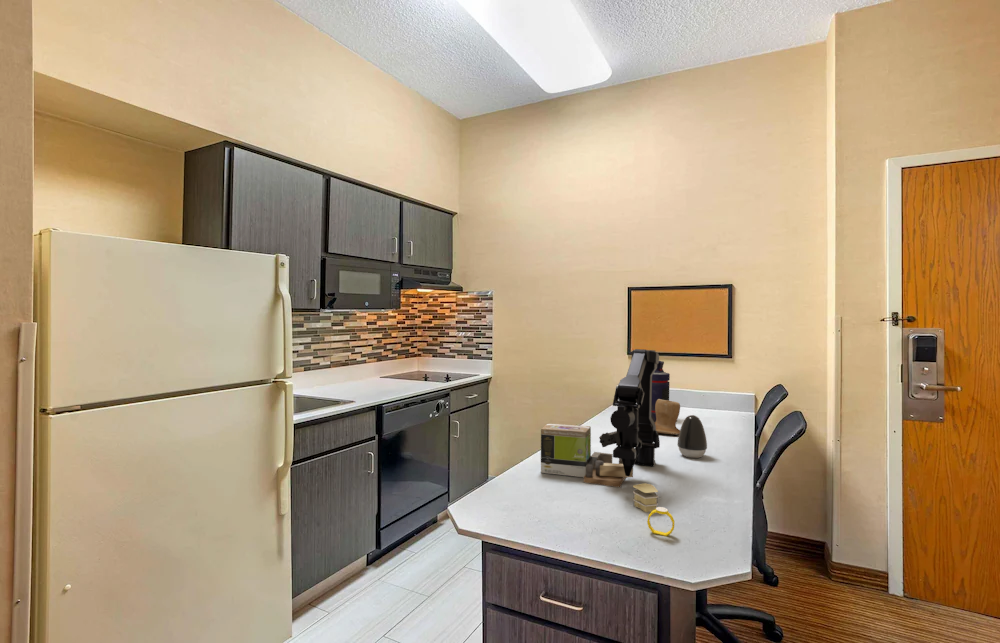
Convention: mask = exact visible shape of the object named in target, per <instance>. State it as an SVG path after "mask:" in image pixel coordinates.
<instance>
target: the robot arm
mask: <svg viewBox="0 0 1000 643" xmlns="http://www.w3.org/2000/svg"><path fill="white" fill-rule="evenodd" d="M630 358H631V359H630V363H629V367H628V369H627V373H626V376H624V377H623V378H621V379H620V380H619V382H618V383H617V384H618V385H616V387H615V391H614V396H613V399H612V400H613V401H612V407H617V408H616V410H615V411H614V412H612V414H611V415H610V419H609V420H610V424H611V425H612V427H613V428H615V429H616V431H612V432H605V433H604V432H603V433H601V435H600V436H599V438H598V439H599V443H600V444H601V446H602V448H605V447H606V448H607V447H608V446H612V445H616V446H615V447H614V449H613V450H612V454H613V458H615V459H619V458H621V459H622V462H623V466H624V471H625V475H626V476H630V473H631V471H632V469H633V470H634V466H635V465H639V466H646V467H655V464H656V460H655V458H656V457H655V455H656V453H655V452H656V449H658V448H660V445H661V444H660V436H659V433H657V431H656V425H655V422H654V421H653V419H652V418H651V401H652V375H653V373H654V372H655V370H656V369H657V364H658V363H659V361H660V355H659V353H658V352H657V351H656V350H655V349H642V348H641V349H640V348H635V349H633V350H631V357H630Z"/></svg>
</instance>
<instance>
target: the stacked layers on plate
mask: <svg viewBox="0 0 1000 643" xmlns="http://www.w3.org/2000/svg"><path fill="white" fill-rule="evenodd" d="M632 487H633V488H635V489H633V490H632V492H633V494H634V495H633V496H634V497H632V500H633V502H634V504H633V506H634V507H635V508H638V509H640V510H642V511H643V512H645V513H648V512H649V513H651V512H652V511H653V510H655V509H656V508H657V506H659V503H658V502H657V500H658V499H657V498H659V496H658V494H657V493H658V492H659V490H658V489H657V488H656V487H655V486H654V485H653V484H651V483H645V482H642V483H639V484H633V486H632Z"/></svg>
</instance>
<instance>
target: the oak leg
mask: <svg viewBox="0 0 1000 643" xmlns="http://www.w3.org/2000/svg"><path fill="white" fill-rule="evenodd" d="M596 475H597V476H616V477H625V478H634V468H633V469H632V471H631V473H630V476H626V475H625V471H624V466H623V464H619V463H613V462H612V463H604V462H603V461H600V460H597V461H596Z"/></svg>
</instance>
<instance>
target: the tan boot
mask: <svg viewBox="0 0 1000 643" xmlns="http://www.w3.org/2000/svg"><path fill="white" fill-rule="evenodd" d="M655 412H656V422H654V423H655V425H656V431H657V433H658V434H663V435H679V433H680V429H679V428H677V421H678V419H679V415H680V412H681V404H680V403H679V402H678V401H674V400H673V401H672V400H669V401H667V400H661V399H658V400H657V401H656V404H655Z"/></svg>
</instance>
